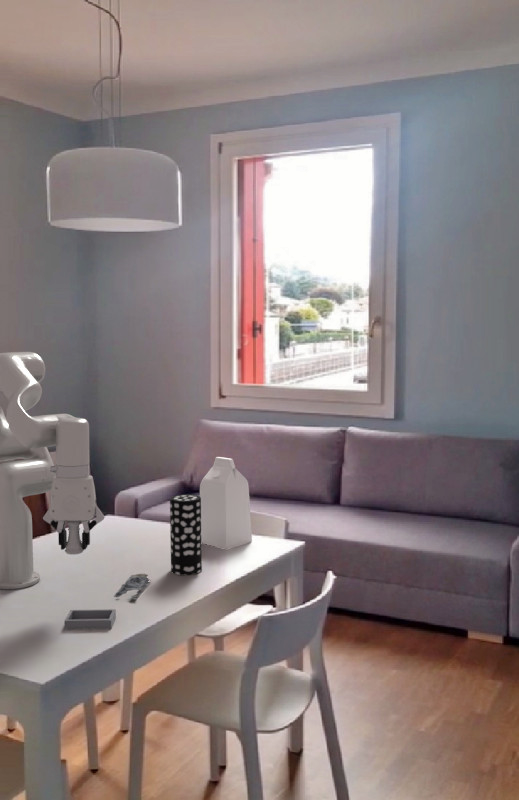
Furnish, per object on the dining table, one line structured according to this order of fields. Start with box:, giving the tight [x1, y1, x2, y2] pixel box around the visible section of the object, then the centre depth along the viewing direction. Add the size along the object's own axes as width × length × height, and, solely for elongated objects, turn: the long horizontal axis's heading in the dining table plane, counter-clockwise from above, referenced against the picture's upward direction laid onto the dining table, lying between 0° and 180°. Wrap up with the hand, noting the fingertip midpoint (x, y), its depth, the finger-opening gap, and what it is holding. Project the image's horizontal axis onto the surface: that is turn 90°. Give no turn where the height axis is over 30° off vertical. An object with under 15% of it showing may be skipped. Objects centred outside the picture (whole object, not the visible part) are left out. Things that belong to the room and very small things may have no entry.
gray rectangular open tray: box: [64, 608, 117, 630], centre depth 181 cm, size 10×7×2 cm, turn 92°
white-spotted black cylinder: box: [169, 494, 203, 576], centre depth 218 cm, size 8×8×20 cm
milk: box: [199, 456, 253, 550], centre depth 246 cm, size 12×12×26 cm
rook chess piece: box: [64, 521, 85, 555], centre depth 189 cm, size 4×4×8 cm
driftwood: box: [113, 573, 151, 602], centre depth 205 cm, size 21×7×2 cm, turn 172°
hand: (74, 547), depth 190 cm, fingers closed on rook chess piece, 4 cm apart
